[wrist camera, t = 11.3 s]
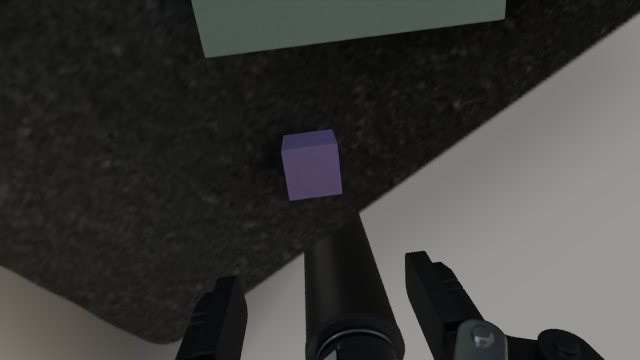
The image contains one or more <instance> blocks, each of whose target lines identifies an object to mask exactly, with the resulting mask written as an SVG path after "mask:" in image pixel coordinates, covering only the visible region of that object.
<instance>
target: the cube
mask: <svg viewBox="0 0 640 360" xmlns="http://www.w3.org/2000/svg"><path fill="white" fill-rule="evenodd" d="M281 154H282V159H283V165H284V171H285V177H286V182H287V188H288V194H289V200H290V201H291V200H299V199H306V198H314V197H321V196H329V195H336V194H342V185H341V176H340V166H339V156H338V146H337V142H336V139H335V136H334V133H333V131H332V129H329V130H321V131H314V132H306V133H299V134H291V135H284V136H283V142H282V148H281Z"/></svg>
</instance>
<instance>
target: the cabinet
mask: <svg viewBox="0 0 640 360" xmlns="http://www.w3.org/2000/svg"><path fill="white" fill-rule="evenodd" d="M191 1H192V5H193V9H194V13H195V18H196V22H197V26H198V30H199V34H200V38H201V42H202V47H203V51H204V55H205V58H211V57H219V56H226V55H234V54H242V53H249V52H257V51H265V50H272V49H280V48H288V47H295V46H303V45H311V44H318V43H326V42H334V41H341V40H349V39H357V38H364V37H372V36H380V35H387V34H395V33H403V32H410V31H418V30H426V29H434V28H441V27H449V26H457V25H464V24H472V23H480V22H487V21H495V20H503V19H504V18H505V7H506V0H191Z"/></svg>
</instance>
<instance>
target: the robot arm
mask: <svg viewBox="0 0 640 360" xmlns="http://www.w3.org/2000/svg"><path fill="white" fill-rule="evenodd" d="M405 279H406V280H405V281H406V290H407V295H408V298H409V301H410V303H411V305H412V308H413V310H414V313H415V314H416V317H417V320H418V322H419V324H420V327H421V329H422V332H423V334H424V336H425V339H426V341H427V343H428V346H429V348H430V351H431V353H432V355H433V357H434V360H604V359H603V358H602V357H601V356H600V355H599V354H598V353H597V352H596V351H595V350H594V349H593V348H592V347H591V346H590V345H589V344H588V343H586V342H585V341H584V340H583V339H581V338H580V337H578V336H577V335H575V334H572V333H570V332H567V331H564V330H559V329H548V330H544V331H542V332H541V333H540V334H539V336H538V339H537V340H532V339H524V338H517V337H511V336H508V335H505V334H504V333H503V332H502V331H501V330H500V329H499V328H498V327H497V326H496V325H494V324H492V323H490V322H488V321H485V320H484V319H483V317H482V315H481V314H480V312H479V311H478V309H477V308H476V306H475V305H474V304H473V302H472V300H471V299H470V297H469V296H468V294H467V293H466V291H465V290H464V289H463V287H462V285H461V284H460V282H459V281H458V279H457V277H456V276H455V275H454V273H453V271H452V270H451V269H450V268H448V267H447V266H446V265H444V264H443V263H441V262H435V263H432V262H431V260H430V258H429V257H428V255H427V253H426V252H425V251H419V252H411V253H406V255H405ZM247 317H248V313H247V304H246V300H245V297H244V293H243V289H242V286H241V282H240V278H239V276H237V275H236V276H229V277H221V278H218V280H217V282H216V285H215V288H214V291H213V292H208V293H205V294H204V296H203V297H202V298H201V299H200V300H199V301H198V302H197V304H196V307H195V309H194V312H193V317H191V320H190V322H189V326H188V327H187V330H186V333H185V335H184V338H183V340H182V343H181V346H180V348H179V351H178V353H177V356H176V359H175V360H240V357H241V352H242V346H243V341H244V336H245V330H246V324H247ZM316 360H397V357H396V350H395V347H394V344H393V342H392V340H391V339H390V338H389V336H388V335H386V334H385V333H384V332H382V331H380V330H378V329H375V328H371V327H365V326H355V327H348V328H344V329H341V330H339V331H336V332H334V333H333V334H331V335H330V336H328V337H327V338H326V339H325V340H324V341H323V342H322V343H321V344H320V346H319V348H318V350H317V354H316Z"/></svg>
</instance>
